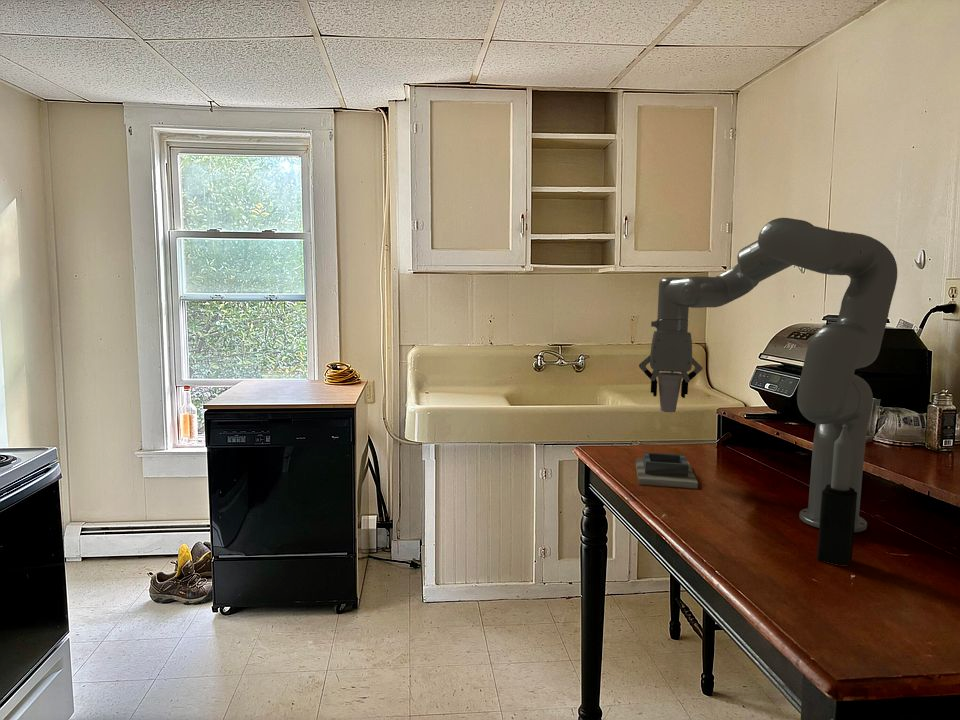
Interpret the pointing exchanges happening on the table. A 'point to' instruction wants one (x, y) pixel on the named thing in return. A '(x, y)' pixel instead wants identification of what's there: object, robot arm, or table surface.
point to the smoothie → (669, 390)
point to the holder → (665, 471)
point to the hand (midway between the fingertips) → (668, 395)
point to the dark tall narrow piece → (838, 507)
